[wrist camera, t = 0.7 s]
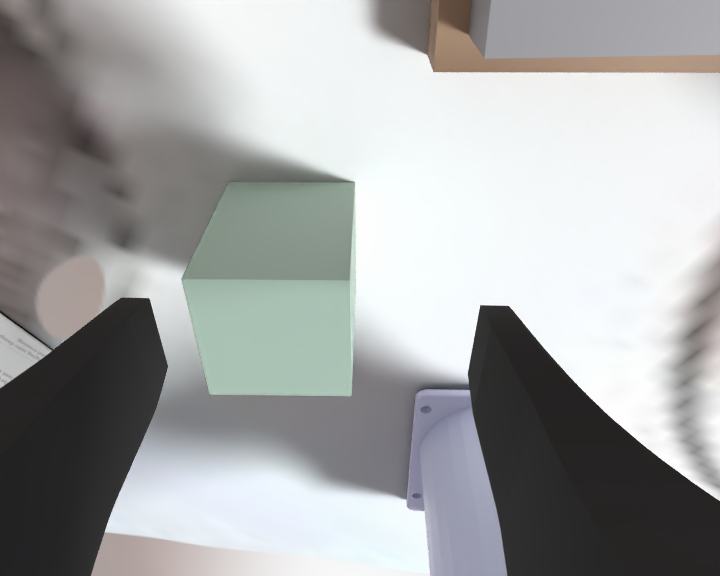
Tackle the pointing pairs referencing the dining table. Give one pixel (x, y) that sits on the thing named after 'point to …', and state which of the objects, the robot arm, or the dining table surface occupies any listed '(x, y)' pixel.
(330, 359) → the green column
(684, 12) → the grey square slab
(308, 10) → the dining table surface
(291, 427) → the dining table surface
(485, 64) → the tan square slab
